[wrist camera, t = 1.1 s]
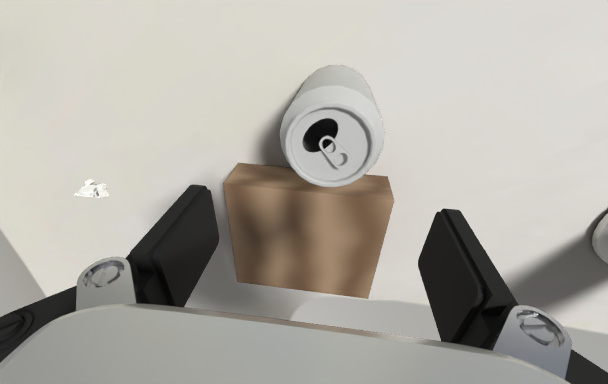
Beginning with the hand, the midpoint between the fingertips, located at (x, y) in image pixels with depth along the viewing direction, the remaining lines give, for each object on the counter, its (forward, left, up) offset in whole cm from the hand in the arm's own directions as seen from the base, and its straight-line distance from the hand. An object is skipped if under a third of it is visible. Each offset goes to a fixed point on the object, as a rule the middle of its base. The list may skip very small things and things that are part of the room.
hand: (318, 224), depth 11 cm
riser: (+2, +16, -20) cm, 26 cm away
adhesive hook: (+32, +15, -21) cm, 41 cm away
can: (0, 0, -20) cm, 20 cm away
